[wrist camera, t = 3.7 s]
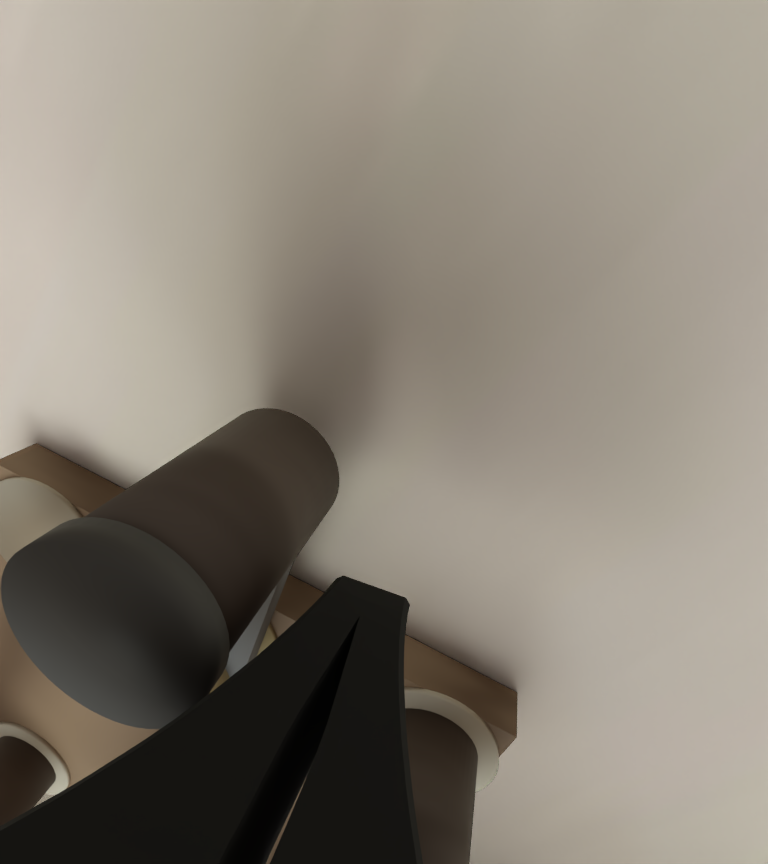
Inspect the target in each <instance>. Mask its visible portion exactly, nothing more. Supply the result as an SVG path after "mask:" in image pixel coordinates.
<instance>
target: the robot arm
mask: <svg viewBox="0 0 768 864" xmlns="http://www.w3.org/2000/svg"><path fill="white" fill-rule="evenodd" d="M409 606H410V604H409V603H408V601H407V599H406V598H405V597H402V596H399V595H396V594H393V593H391V592H388V591H385V590H382V589H379V588H377V587H374V586H371V585H368V584H365V583H363V582H360V581H357V580H354V579H351V578H349V577H346V576H342V577H339V578H337V579H336V580H335V581H334V582H333V583H332V585H331V586H330V587H329V588H328V589H327V590H326V591H325V592H324V594H323V595H322V596H321V597H320V598H319V599H318V600H317V601H316V602H315V603H314V604H313V605H312V606H311V607H310V608H309V609H308V610H307V611H306V612H305V613H304V614H303V615H302V616H301V617H300V618H299V619H298V620H297V621H296V622H295V623H293V624H292V625H291V626H290V627H289V628H288V629H287V630H286V631H285V632H283V633H282V634H281V635H280V636H279V637H278V638H277V639H276V640H274V641H273V642H272V643H271V644H270V645H269V646H268V647H267V648H265V649H264V650H263V651H262V652H261V653H260V654H259V655H257V656H256V657H255V658H254V659H253V660H251V661H250V662H249V663H248V664H246V665H245V666H244V667H243V668H241V669H240V670H239V671H238V672H236V673H235V674H234V675H233V676H231V677H230V678H229V679H227V680H226V681H225V682H224V683H222V684H221V685H220V686H219V687H217V688H216V689H215V690H214V691H212V692H211V693H210V694H208V695H207V696H206V697H204V698H203V699H202V700H200V701H199V702H198V703H196V704H195V705H194V706H192V707H191V708H189V709H188V710H187V711H185V712H184V713H182V714H181V715H180V716H178V717H177V718H175V719H174V720H173V721H171V722H170V723H168V724H167V725H165V726H164V727H162V728H161V729H159V730H158V731H157V732H155V733H154V734H152V735H151V736H149V737H148V738H146V739H145V740H143V741H142V742H140V743H139V744H137V745H135V746H134V747H132V748H131V749H129V750H128V751H126V752H125V753H123V754H121V755H120V756H118V757H117V758H115V759H114V760H112V761H110V762H109V763H107V764H106V765H104V766H103V767H101V768H99V769H98V770H96V771H95V772H93V773H92V774H90V775H88V776H87V777H85V778H83V779H82V780H80V781H78V782H77V783H75V784H73V785H72V786H70V787H69V788H67V789H65V790H63V791H62V792H60V793H58V794H57V795H55V796H53V797H52V798H50V799H48V800H46V801H44V802H43V803H41V804H39V805H37V806H35V807H34V808H32V809H30V810H28V811H27V812H25V813H23V814H21V815H19V816H18V817H16V818H14V819H12V820H10V821H9V822H7V823H5V824H3V825H1V826H0V864H266V862H267V860H268V858H269V855H270V853H271V851H272V848H273V846H274V844H275V842H276V840H277V838H278V836H279V834H280V832H281V830H282V827H283V825H284V823H285V821H286V819H287V817H288V815H289V813H290V811H291V808H292V806H293V804H294V802H295V800H296V798H297V796H298V794H299V792H300V790H301V792H300V794H299V796H298V799H297V801H296V803H295V806H294V808H293V811H292V813H291V815H290V818H289V820H288V822H287V825H286V827H285V829H284V832H283V834H282V836H281V839H280V841H279V843H278V846H277V848H276V850H275V853H274V855H273V857H272V860H271V862H270V864H423V860H422V854H421V847H420V841H419V834H418V828H417V821H416V814H415V806H414V799H413V790H412V782H411V773H410V763H409V753H408V743H407V730H406V713H405V691H404V644H405V630H406V622H407V615H408V610H409ZM305 779H306V780H305ZM304 781H305V782H304ZM303 783H304V784H303ZM302 785H303V787H302ZM301 787H302V789H301Z"/></svg>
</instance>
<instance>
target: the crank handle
mask: <svg viewBox="0 0 768 864" xmlns="http://www.w3.org/2000/svg"><path fill="white" fill-rule="evenodd" d="M338 488H339V472H338V466H337V462H336V459H335V457H334V454H333V452H332V450H331V448H330V447H329V445H328V443H327V442H326V441H325V439H324V438H323V437H322V436H321V434H320V433H319V432H318V431H317V430H316V429H315V428H314V427H312V426H311V425H310V424H309V423H307V422H306V421H305V420H303V419H301V418H299V417H298V416H296V415H294V414H291V413H289V412H286V411H282V410H278V409H269V408H263V409H255V410H252V411H248V412H246V413H244V414H242V415H240V416H239V417H237V418H236V419H234V420H233V421H231V422H229V423H228V424H226V425H225V426H223V427H222V428H220V429H219V430H217V431H216V432H214V433H213V434H211V435H209V436H208V437H206V438H205V439H203V440H202V441H200V442H199V443H197V444H196V445H194V446H193V447H191V448H189V449H188V450H186V451H185V452H183V453H182V454H180V455H179V456H177V457H176V458H174V459H172V460H171V461H169V462H168V463H166V464H165V465H163V466H162V467H160V468H159V469H157V470H156V471H154V472H152V473H151V474H149V475H148V476H146V477H145V478H143V479H142V480H140V481H139V482H137V483H136V484H134V485H132V486H131V487H129V488H128V489H126V490H125V491H123V492H122V493H120V494H119V495H117V496H116V497H114V498H112V499H111V500H109V501H108V502H106V503H105V504H103V505H102V506H100V507H99V508H97V509H96V510H94V511H92V512H91V513H89V514H88V515H86V516H85V517H83V518H77V519H72V520H69V521H66V522H64V523H62V524H60V525H58V526H57V527H55V528H53V529H52V530H50V531H49V532H47V533H45V534H44V535H42V536H41V537H39V538H38V539H36V540H34V541H33V542H31V543H30V544H28V545H26V546H25V547H23V548H22V549H20V550H19V551H18V552H16V553H15V554H14V555H13V556H12V557H11V558H10V559H9V561H8V562H7V564H6V566H5V568H4V571H3V574H2V578H1V599H2V604H3V608H4V612H5V615H6V618H7V621H8V623H9V625H10V627H11V629H12V632H13V634H14V635H15V637H16V639H17V641H18V642H19V644H20V645H21V647H22V648H23V650H24V651H25V653H26V654H27V655H28V657H29V658H30V659H31V660H32V662H33V663H34V664H35V665H36V666H37V668H38V669H39V670H40V671H41V672H42V673H43V674H44V675H45V676H46V677H47V678H48V679H49V680H50V681H51V682H52V683H53V684H54V685H56V686H57V687H58V688H59V689H60V690H62V691H63V692H64V693H65V694H67V695H68V696H69V697H71V698H72V699H74V700H75V701H76V702H78V703H79V704H81V705H83V706H84V707H86V708H88V709H89V710H91V711H93V712H95V713H97V714H99V715H101V716H103V717H105V718H108V719H110V720H112V721H115V722H118V723H121V724H124V725H128V726H132V727H137V728H144V729H161V728H162V727H164V726H165V725H167V724H168V723H170V722H171V721H173V720H174V719H175V718H177V717H178V716H180V715H181V714H182V713H184V712H185V711H187V710H188V709H189V708H191V707H192V706H194V705H195V704H196V703H198V702H199V701H200V700H202V699H203V698H204V697H206V696H207V695H208V694H210V693H211V692H212V691H214V690H215V689H216V688H217V687H219V686H220V685H221V684H222V683H224V682H225V681H226V680H227V679H229V678H230V677H231V676H233V675H234V674H235V673H236V672H238V671H239V670H240V669H241V668H243V667H244V666H245V665H246V664H248V663H249V662H250V661H251V660H253V659H254V658H255V657H256V656H257V654H258V651H259V649H260V646H261V644H262V641H263V639H264V636H265V634H266V631H267V628H268V626H269V623H270V621H271V618H272V616H273V613H274V611H275V608H276V605H277V603H278V600H279V598H280V595H281V593H282V590H283V588H284V585H285V582H286V580H287V577H288V575H289V572H290V570H291V567H292V565H293V562H294V559H295V558H296V556H297V555H298V554H299V552H300V551H301V549H302V548H303V546H304V545H305V544H306V542H307V541H308V539H309V538H310V536H311V535H312V534H313V532H314V531H315V529H316V528H317V526H318V525H319V523H320V522H321V521H322V519H323V518H324V516H325V515H326V513H327V512H328V511H329V509H330V508H331V506H332V505H333V503H334V501H335V499H336V496H337V493H338Z"/></svg>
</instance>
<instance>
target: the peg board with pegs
mask: <svg viewBox="0 0 768 864" xmlns="http://www.w3.org/2000/svg"><path fill="white" fill-rule="evenodd" d="M123 491H125V489H123V488H121V487H119V486H117V485H115V484H113V483H112V482H110V481H108V480H106V479H104V478H102V477H100V476H98V475H96V474H94V473H92V472H90V471H88V470H86V469H85V468H83V467H81V466H79V465H77V464H75V463H73V462H71V461H69V460H67V459H65V458H63V457H61V456H59V455H58V454H56V453H54V452H52V451H50V450H48V449H46V448H44V447H42V446H40V445H38V444H34V445H31V446H29V447H27V448H25V449H22V450H20V451H18V452H15V453H13V454H11V455H8V456H6V457H4V458H2V459H0V826H1V825H3V824H5V823H7V822H9V821H10V820H12V819H14V818H16V817H18V816H19V815H21V814H23V813H25V812H27V811H28V810H30V809H32V808H33V807H34V806H35V805H36V803H37V802H38V801H39V800H40V799H41V797H42V796H43V795H44V794H50V795H57V794H58V793H60V792H62V791H63V790H65V789H67V788H69V787H70V786H72V785H73V784H75V783H77V782H78V781H80V780H82V779H83V778H85V777H87V776H88V775H90V774H92V773H93V772H95V771H96V770H98V769H99V768H101V767H103V766H104V765H106V764H107V763H109V762H110V761H112V760H114V759H115V758H117V757H118V756H120V755H121V754H123V753H125V752H126V751H128V750H129V749H131V748H132V747H134V746H135V745H137V744H139V743H140V742H142V741H143V740H145V739H146V738H148V737H149V736H151V735H152V734H154V733H155V732H157V731H158V730H159V729H144V728H137V727H132V726H128V725H124V724H121V723H118V722H115V721H112V720H110V719H108V718H105V717H103V716H101V715H99V714H97V713H95V712H93V711H91V710H89V709H88V708H86V707H84V706H83V705H81V704H79V703H78V702H76V701H75V700H74V699H72V698H71V697H69V696H68V695H67V694H65V693H64V692H63V691H62V690H60V689H59V688H58V687H57V686H56V685H54V684H53V683H52V682H51V681H50V680H49V679H48V678H47V677H46V676H45V675H44V674H43V673H42V672H41V671H40V670H39V669H38V668H37V666H36V665H35V664H34V663H33V662H32V660H31V659H30V658H29V657H28V655H27V654H26V653H25V651H24V650H23V648H22V647H21V645H20V644H19V642H18V641H17V639H16V637H15V635H14V634H13V632H12V629H11V627H10V625H9V623H8V621H7V618H6V615H5V612H4V608H3V604H2V599H1V578H2V574H3V571H4V568H5V566H6V564H7V562H8V561H9V559H10V558H11V557H12V556H13V555H14V554H15V553H16V552H18V551H19V550H20V549H22V548H23V547H25V546H26V545H28V544H30V543H31V542H33V541H34V540H36V539H38V538H39V537H41V536H42V535H44V534H45V533H47V532H49V531H50V530H52V529H53V528H55V527H57V526H58V525H60V524H62V523H64V522H66V521H69V520H72V519H77V518H83V517H85V516H86V515H88V514H89V513H91V512H92V511H94V510H96V509H97V508H99V507H100V506H102V505H103V504H105V503H106V502H108V501H109V500H111V499H112V498H114V497H116V496H117V495H119V494H120V493H122V492H123ZM323 594H324V592H322V591H320V590H318V589H316V588H314V587H312V586H310V585H308V584H306V583H305V582H303V581H301V580H299V579H297V578H295V577H293V576H291V575H288V577H287V580H286V582H285V585H284V588H283V590H282V593H281V595H280V598H279V600H278V603H277V605H276V608H275V611H274V613H273V616H272V618H271V621H270V623H269V626H268V628H267V631H266V634H265V636H264V639H263V641H262V644H261V646H260V649H259V651H258V654H257V655H259V654H260V653H261V652H262V651H263V650H264V649H265V648H267V647H268V646H269V645H270V644H271V643H272V642H273V641H274V640H276V639H277V638H278V637H279V636H280V635H281V634H282V633H283V632H285V631H286V630H287V629H288V628H289V627H290V626H291V625H292V624H293V623H295V622H296V621H297V620H298V619H299V618H300V617H301V616H302V615H303V614H304V613H305V612H306V611H307V610H308V609H309V608H310V607H311V606H312V605H313V604H314V603H315V602H316V601H317V600H318V599H319V598H320V597H321V596H322V595H323ZM404 691H405V713H406V730H407V743H408V753H409V763H410V773H411V782H412V790H413V799H414V806H415V814H416V821H417V828H418V834H419V841H420V847H421V854H422V860H423V864H469V858H470V847H471V835H472V824H473V812H474V800H475V793H476V792H478V791H480V790H482V789H484V788H485V787H486V786H488V785H489V784H490V783H491V782H492V780H493V779H494V778H495V776H496V773H497V771H498V766H499V757H500V755H501V754H502V753H503V752H504V751H505V750H506V749H507V748H508V746H509V745H510V744H511V743H512V742H513V741H514V740H515V739H516V737H517V692H515V691H513V690H511V689H509V688H507V687H505V686H503V685H501V684H499V683H498V682H496V681H494V680H492V679H490V678H488V677H486V676H484V675H482V674H480V673H478V672H476V671H474V670H472V669H471V668H469V667H467V666H465V665H463V664H461V663H459V662H457V661H455V660H453V659H451V658H449V657H447V656H445V655H443V654H442V653H440V652H438V651H436V650H434V649H432V648H430V647H428V646H426V645H424V644H422V643H420V642H418V641H416V640H415V639H413V638H411V637H409V636H407V635H405V644H404ZM305 780H306V779H305ZM304 782H305V781H304ZM303 784H304V783H303ZM302 787H303V785H302ZM302 787H301V789H302ZM300 792H301V790H300ZM300 792H299V794H300ZM299 794H298V796H299ZM298 796H297V798H296V800H295V802H294V804H293V806H292V808H291V811H290V813H289V815H288V817H287V819H286V821H285V823H284V825H283V827H282V830H281V832H280V834H279V836H278V838H277V840H276V842H275V844H274V846H273V848H272V851H271V853H270V855H269V858H268V860H267V862H266V864H270V862H271V860H272V857H273V855H274V853H275V850H276V848H277V846H278V843H279V841H280V839H281V836H282V834H283V832H284V829H285V827H286V825H287V822H288V820H289V818H290V815H291V813H292V811H293V808H294V806H295V803H296V801H297V799H298Z"/></svg>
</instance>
